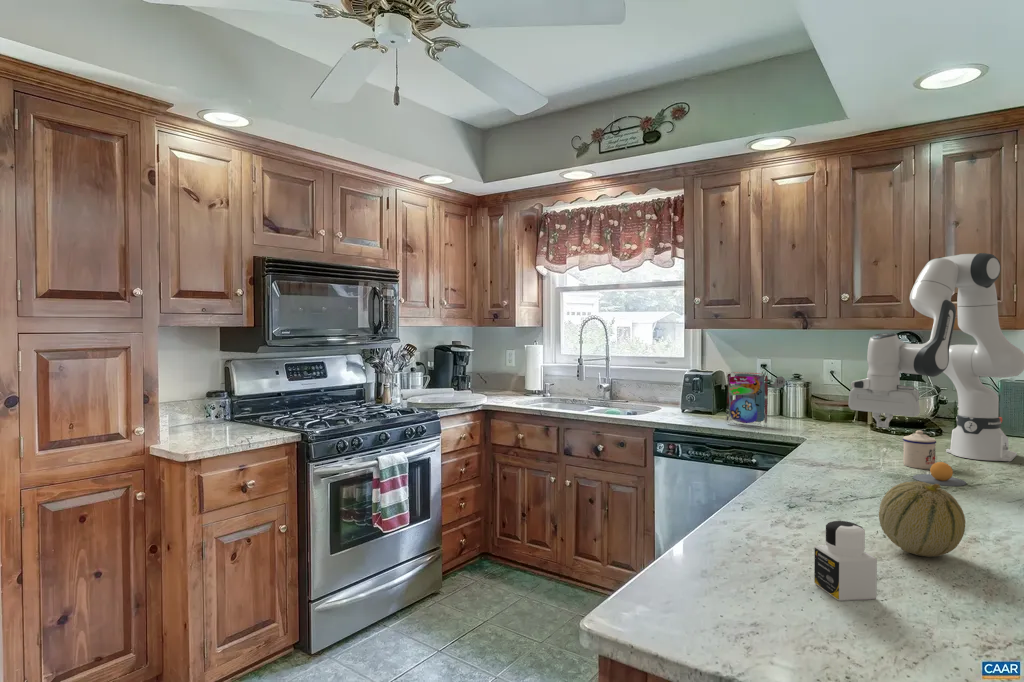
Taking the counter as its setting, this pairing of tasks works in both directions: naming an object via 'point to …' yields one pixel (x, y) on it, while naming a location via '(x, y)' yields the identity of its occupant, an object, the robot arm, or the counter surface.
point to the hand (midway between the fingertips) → (882, 427)
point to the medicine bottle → (845, 563)
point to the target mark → (931, 480)
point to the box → (749, 397)
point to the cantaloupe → (922, 518)
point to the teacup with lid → (919, 450)
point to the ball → (941, 471)
